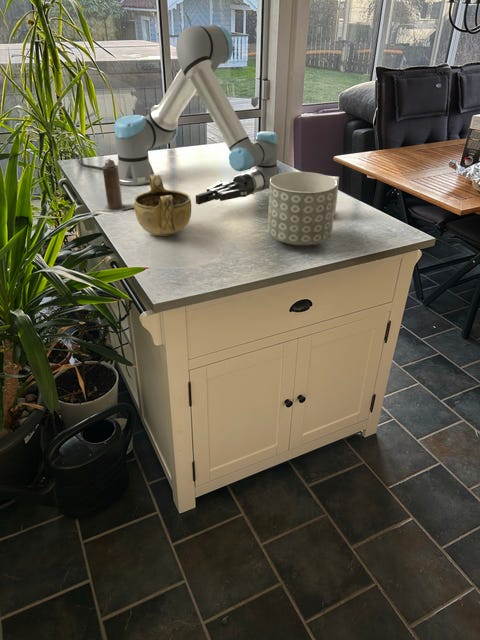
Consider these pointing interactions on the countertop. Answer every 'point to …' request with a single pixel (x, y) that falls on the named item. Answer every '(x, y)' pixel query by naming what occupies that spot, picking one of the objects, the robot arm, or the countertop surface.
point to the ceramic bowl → (162, 209)
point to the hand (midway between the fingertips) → (197, 199)
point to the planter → (301, 208)
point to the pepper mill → (112, 185)
